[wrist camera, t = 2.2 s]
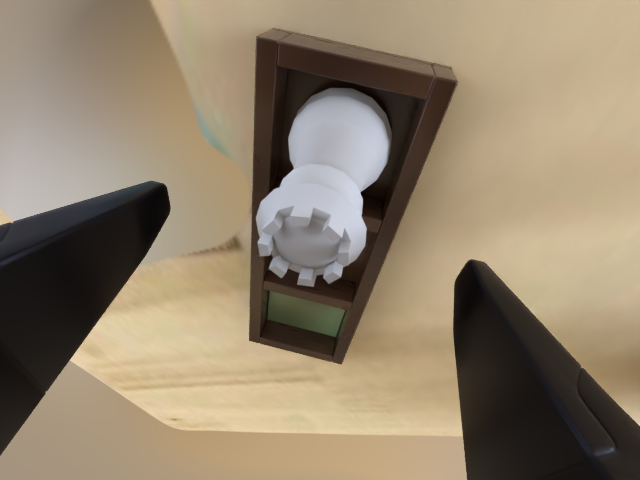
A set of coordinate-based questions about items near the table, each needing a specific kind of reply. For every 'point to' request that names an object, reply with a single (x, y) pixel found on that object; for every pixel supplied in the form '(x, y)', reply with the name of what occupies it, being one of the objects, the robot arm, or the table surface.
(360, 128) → the rook chess piece
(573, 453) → the robot arm
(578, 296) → the table surface
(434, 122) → the tray
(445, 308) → the table surface
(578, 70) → the table surface
